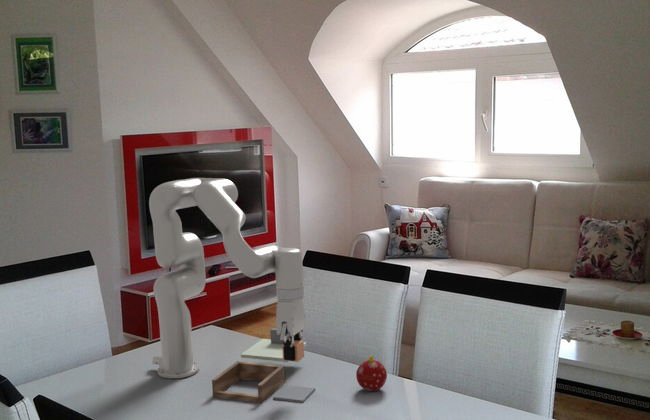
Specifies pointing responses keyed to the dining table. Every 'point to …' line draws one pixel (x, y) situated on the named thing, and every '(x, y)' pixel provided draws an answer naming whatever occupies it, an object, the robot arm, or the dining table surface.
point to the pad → (294, 393)
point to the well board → (249, 371)
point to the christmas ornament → (371, 375)
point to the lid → (267, 348)
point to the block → (297, 350)
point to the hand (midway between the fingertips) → (293, 356)
